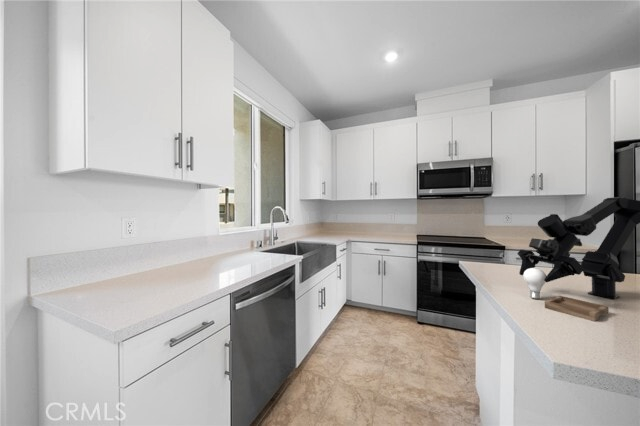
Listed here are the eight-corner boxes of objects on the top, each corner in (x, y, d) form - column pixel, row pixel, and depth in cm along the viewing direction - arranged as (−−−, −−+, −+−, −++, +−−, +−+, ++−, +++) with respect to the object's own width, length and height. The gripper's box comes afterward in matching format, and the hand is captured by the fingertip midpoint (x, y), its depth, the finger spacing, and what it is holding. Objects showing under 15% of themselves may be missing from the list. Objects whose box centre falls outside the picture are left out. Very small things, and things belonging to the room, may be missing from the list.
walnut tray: (559, 302, 83) (559, 295, 83) (608, 313, 73) (608, 306, 73) (544, 307, 78) (544, 301, 78) (594, 321, 68) (594, 313, 68)
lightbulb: (522, 294, 91) (522, 265, 91) (545, 297, 87) (545, 267, 87) (524, 299, 85) (524, 268, 86) (548, 303, 82) (548, 270, 82)
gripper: (521, 229, 96) (496, 257, 95) (575, 232, 77) (544, 268, 76) (539, 248, 97) (514, 276, 96) (597, 256, 78) (567, 292, 77)
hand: (532, 277), depth 86 cm, fingers open, 9 cm apart
